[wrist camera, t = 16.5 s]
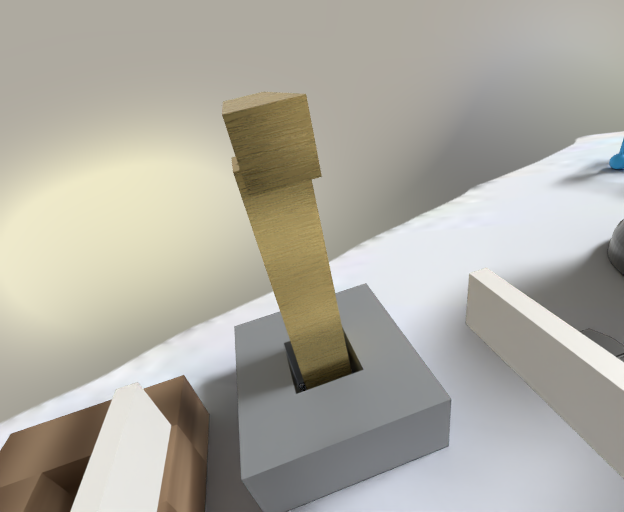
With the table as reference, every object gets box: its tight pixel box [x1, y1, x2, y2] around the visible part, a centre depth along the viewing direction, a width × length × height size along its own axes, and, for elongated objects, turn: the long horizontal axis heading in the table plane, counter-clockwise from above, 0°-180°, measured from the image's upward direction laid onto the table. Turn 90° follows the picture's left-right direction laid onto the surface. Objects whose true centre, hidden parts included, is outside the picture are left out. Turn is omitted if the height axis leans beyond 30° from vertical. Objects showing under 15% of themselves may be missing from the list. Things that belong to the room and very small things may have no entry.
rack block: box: [234, 284, 451, 512], centre depth 23 cm, size 12×12×5 cm
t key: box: [222, 92, 352, 390], centre depth 19 cm, size 3×11×21 cm, turn 15°
